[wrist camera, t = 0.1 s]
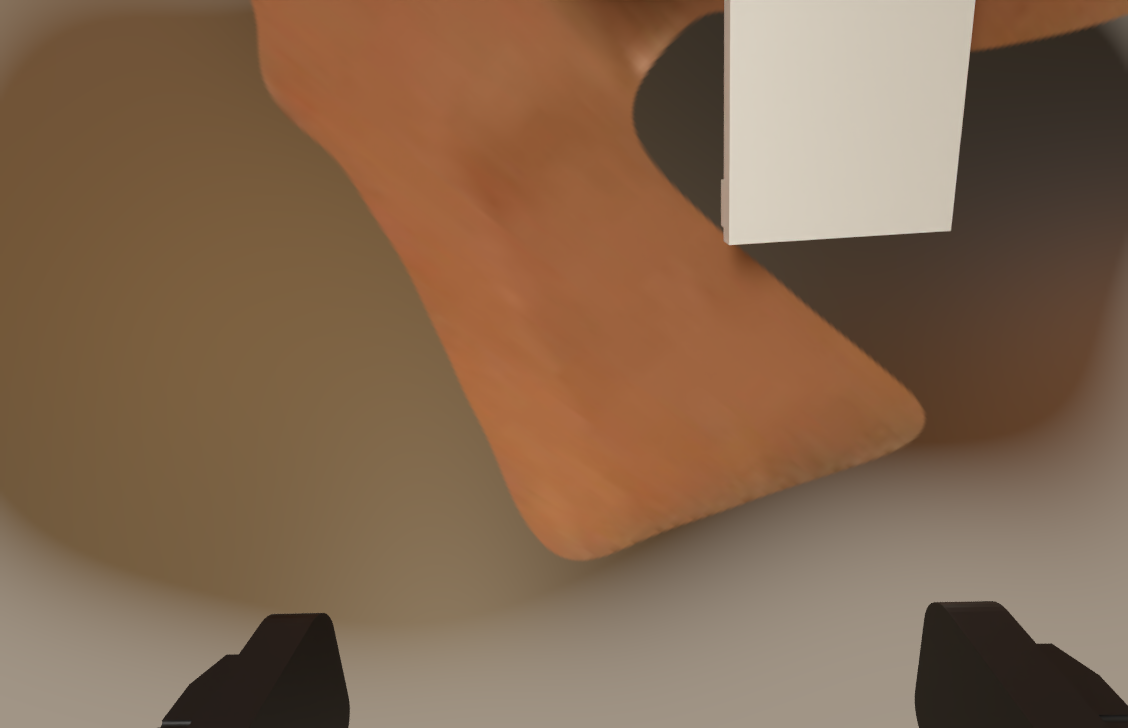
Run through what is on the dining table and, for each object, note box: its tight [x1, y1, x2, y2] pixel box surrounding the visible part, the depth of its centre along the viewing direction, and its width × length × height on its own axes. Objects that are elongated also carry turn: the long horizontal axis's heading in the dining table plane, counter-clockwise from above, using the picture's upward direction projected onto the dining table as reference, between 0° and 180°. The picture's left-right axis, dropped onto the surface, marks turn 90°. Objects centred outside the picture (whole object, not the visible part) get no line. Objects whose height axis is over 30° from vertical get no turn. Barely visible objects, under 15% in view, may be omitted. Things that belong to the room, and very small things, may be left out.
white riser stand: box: [721, 0, 975, 245], centre depth 30 cm, size 18×10×5 cm, turn 4°
